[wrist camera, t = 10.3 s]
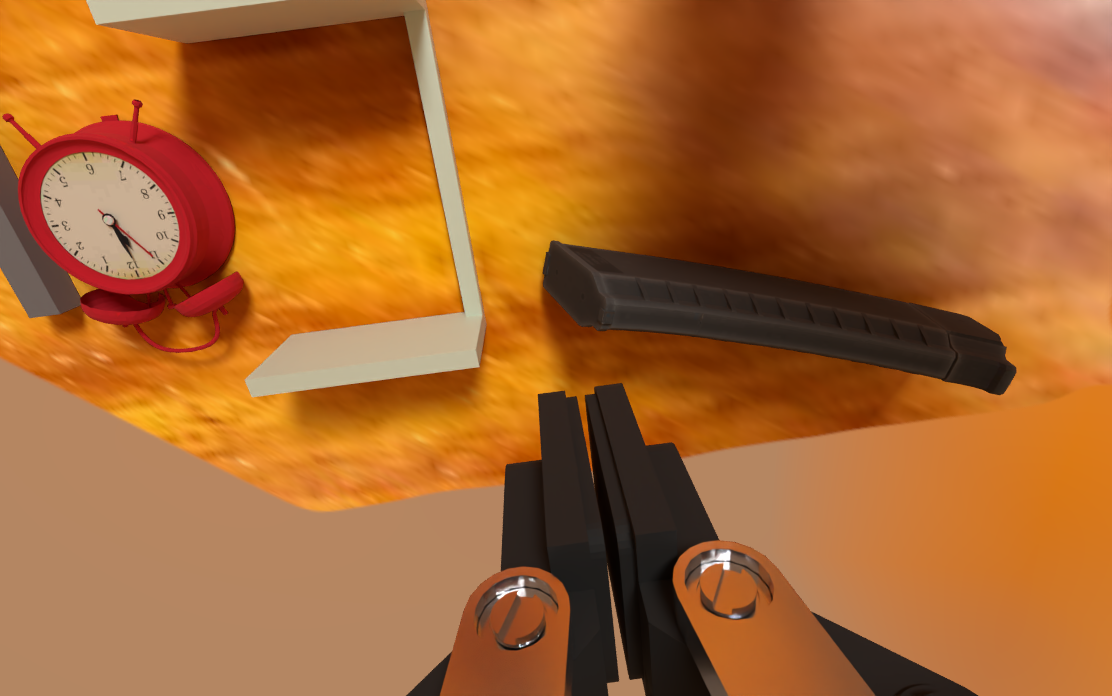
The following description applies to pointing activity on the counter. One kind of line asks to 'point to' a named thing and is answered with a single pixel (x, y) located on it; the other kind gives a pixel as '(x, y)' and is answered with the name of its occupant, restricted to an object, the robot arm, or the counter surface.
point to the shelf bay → (453, 339)
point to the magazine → (772, 314)
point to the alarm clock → (130, 219)
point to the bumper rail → (29, 257)
